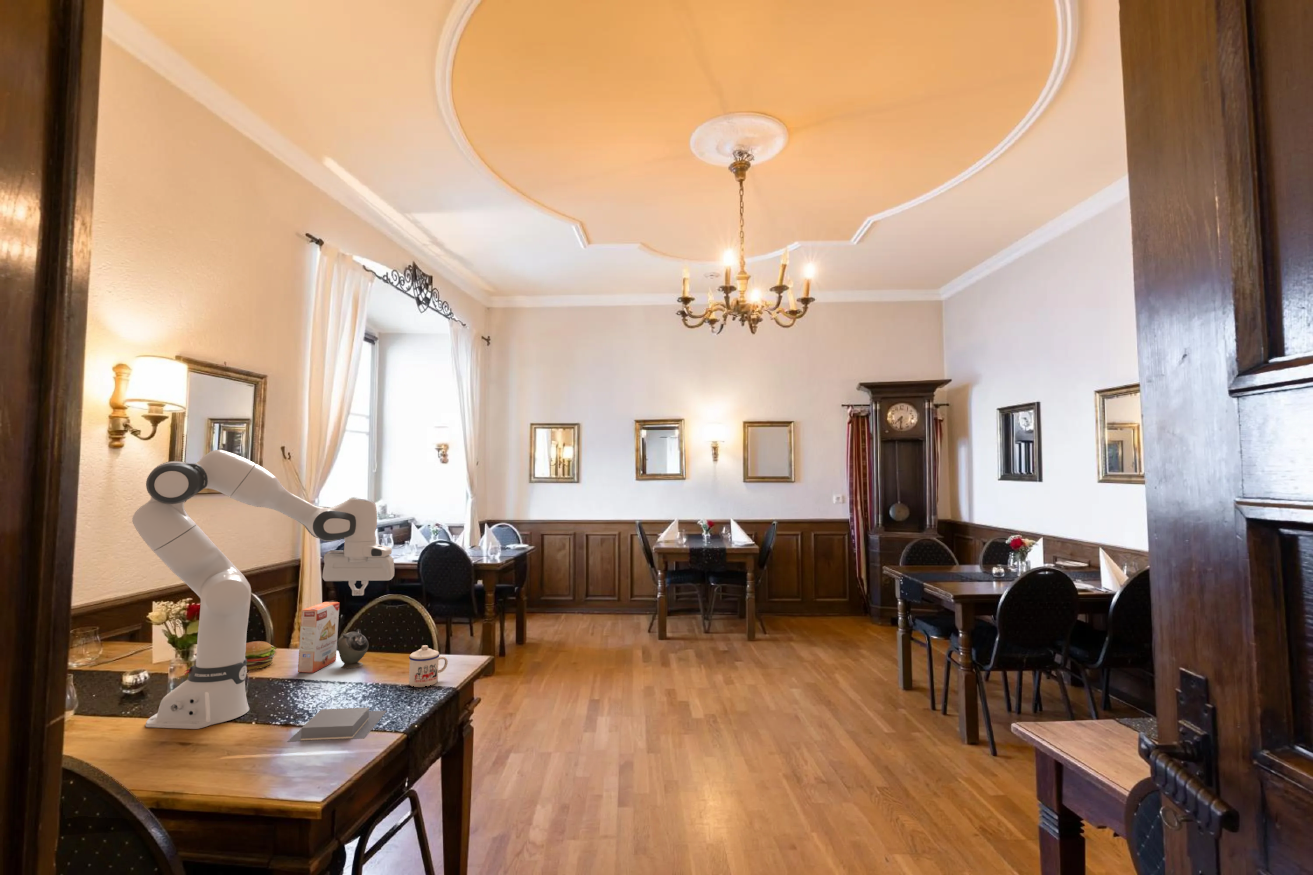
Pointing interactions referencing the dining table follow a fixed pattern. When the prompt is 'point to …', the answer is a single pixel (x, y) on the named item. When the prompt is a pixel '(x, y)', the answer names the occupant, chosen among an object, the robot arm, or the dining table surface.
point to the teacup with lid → (424, 667)
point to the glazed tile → (335, 724)
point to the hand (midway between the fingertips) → (357, 595)
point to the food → (258, 654)
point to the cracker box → (318, 636)
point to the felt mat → (361, 734)
